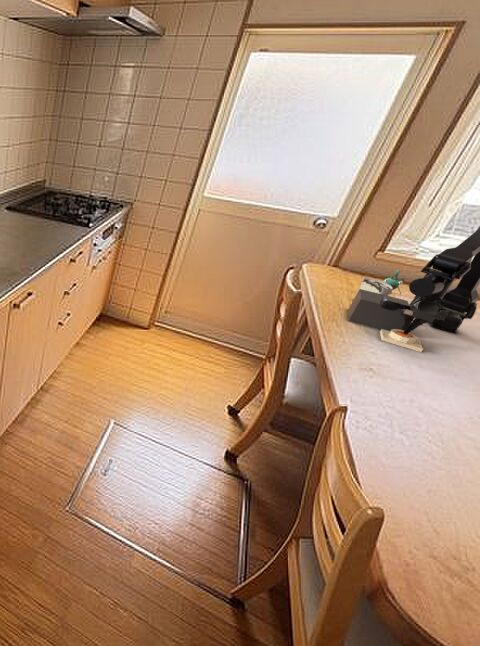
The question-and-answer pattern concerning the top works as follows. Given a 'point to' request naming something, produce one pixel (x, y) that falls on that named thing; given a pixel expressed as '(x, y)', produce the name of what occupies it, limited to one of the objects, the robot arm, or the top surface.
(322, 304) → the top surface
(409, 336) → the button
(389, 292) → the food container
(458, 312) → the robot arm
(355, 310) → the charcoal rectangular box
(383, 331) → the block
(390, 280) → the frog figurine
